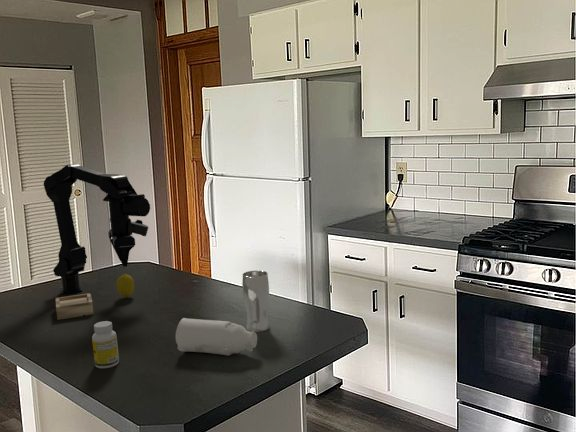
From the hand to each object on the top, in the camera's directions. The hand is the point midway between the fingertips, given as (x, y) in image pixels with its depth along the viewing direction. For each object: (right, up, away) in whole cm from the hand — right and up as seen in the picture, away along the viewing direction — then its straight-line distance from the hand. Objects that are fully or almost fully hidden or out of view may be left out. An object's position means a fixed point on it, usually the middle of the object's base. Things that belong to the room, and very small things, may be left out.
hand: (123, 263), depth 182 cm
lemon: (+1, -11, +2) cm, 12 cm away
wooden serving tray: (-11, -14, -11) cm, 21 cm away
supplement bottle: (+11, -19, -50) cm, 54 cm away
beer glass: (+45, -15, -30) cm, 56 cm away
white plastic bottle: (+36, -18, -45) cm, 60 cm away
